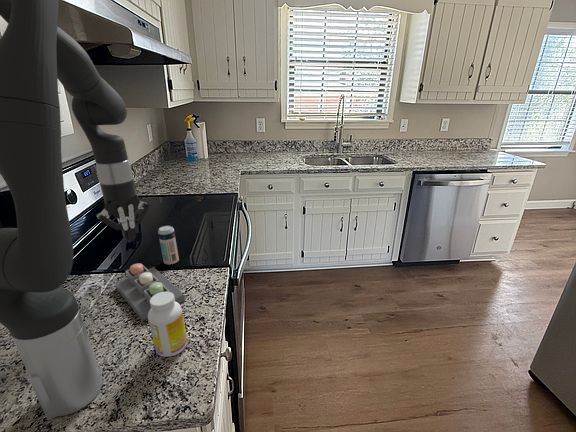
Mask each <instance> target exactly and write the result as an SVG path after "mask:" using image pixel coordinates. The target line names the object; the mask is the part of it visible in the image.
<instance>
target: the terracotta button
mask: <svg viewBox="0 0 576 432" xmlns="http://www.w3.org/2000/svg"><path fill="white" fill-rule="evenodd" d="M143 265H144V264H142V263H134V264H132V265H130V267H129V269H130V270H131V274H132V276H135V275H138V274H141V273H143V272H144V270H143Z"/></svg>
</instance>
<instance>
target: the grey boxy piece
mask: <svg viewBox="0 0 576 432" xmlns="http://www.w3.org/2000/svg"><path fill="white" fill-rule="evenodd" d="M142 265H143V270H144V272H143V273H146V272H150V273H152V277H153V282H152V283H155V282H161V283H162V285H163V290H164V292H171V293H173V294H174V297H175V302H177V303H179V304H182V303H183V302H185V300H186V299H185V295H184V293H183V292H182V291H181V290H179V288H177V287H176V286H175V285H174V284H173V283H172V282H171V281H170V280H169V279H167V278H166V277H165V276H164V275H163V274H162V273H161V272H160V271H159V270H158V269H156V267H155V266H152V267H150V268H147V267H146V266H145V265H144V264H142ZM141 274H142V273H141ZM141 274H138V275H135V276H132V274H131V270H130V268H129V269H127V270H125V276H126V277H124V278H121V279H119V280H117V281H114V284H115V288H116V289H117V291H118V292H119V293H120V294H121V296H122V297H123V298H124V300H125V301H126V302H127V303H128V305H129V306H130V307H131V309H132V310H133V311H134V312H135V313H136V315H137V316H138V317H139V319H140V320H141V321H142V322H144V321H146V320H148V313H149V311H150V309H151V306H150V299H151V298H152V297H151V295H150V291H149V286H150V285H151V284H152V283H149V284H147V285H145V286H141V284H140V280H139V276H140V275H141Z"/></svg>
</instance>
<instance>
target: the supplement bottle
mask: <svg viewBox="0 0 576 432" xmlns="http://www.w3.org/2000/svg"><path fill="white" fill-rule="evenodd" d="M150 306H151V309H150V311H149V313H148V319H147V320H148V325H149V328H150V332H151V333H150V334H151V337H152V342H153V346H154V349H155V352H156V354H158V355H159V356H161V357H165V358H167V357H168V358H169V357H174V356H176V355H178V354H180V353H181V352H183V350H184V349H186V347H187V344H188V335H187V329H186V325H185V320H184V313H183V309H182V306H181V303H177V302H175V297H174V294H173V293H171V292H160V293H157V294H155V295H154V296H153V297H152V298H151V299H150Z"/></svg>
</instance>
